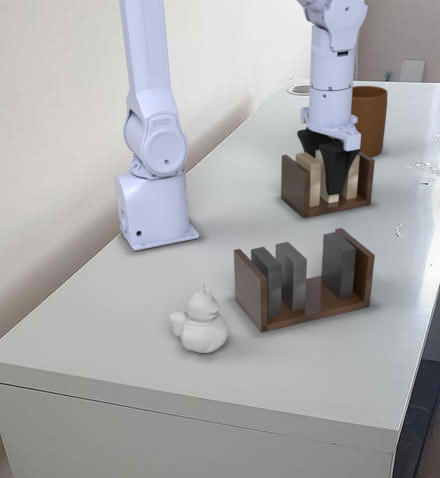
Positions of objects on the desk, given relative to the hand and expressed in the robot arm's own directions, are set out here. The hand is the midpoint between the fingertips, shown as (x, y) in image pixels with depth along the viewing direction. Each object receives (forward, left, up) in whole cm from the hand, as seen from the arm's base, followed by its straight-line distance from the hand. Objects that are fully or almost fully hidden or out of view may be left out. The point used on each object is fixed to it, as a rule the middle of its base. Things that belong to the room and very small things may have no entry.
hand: (326, 187), depth 105 cm
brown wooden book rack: (0, 0, -2) cm, 2 cm away
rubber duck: (-30, -30, -2) cm, 42 cm away
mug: (+13, +18, -2) cm, 22 cm away
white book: (0, 0, -1) cm, 1 cm away
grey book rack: (-16, -26, -2) cm, 31 cm away
